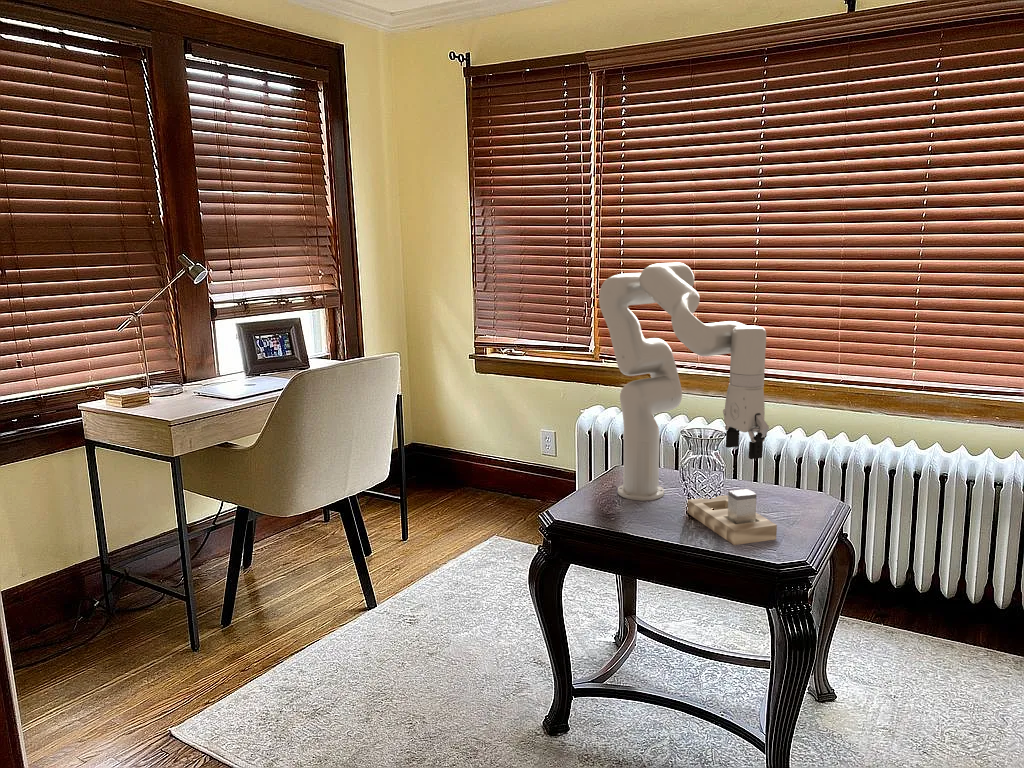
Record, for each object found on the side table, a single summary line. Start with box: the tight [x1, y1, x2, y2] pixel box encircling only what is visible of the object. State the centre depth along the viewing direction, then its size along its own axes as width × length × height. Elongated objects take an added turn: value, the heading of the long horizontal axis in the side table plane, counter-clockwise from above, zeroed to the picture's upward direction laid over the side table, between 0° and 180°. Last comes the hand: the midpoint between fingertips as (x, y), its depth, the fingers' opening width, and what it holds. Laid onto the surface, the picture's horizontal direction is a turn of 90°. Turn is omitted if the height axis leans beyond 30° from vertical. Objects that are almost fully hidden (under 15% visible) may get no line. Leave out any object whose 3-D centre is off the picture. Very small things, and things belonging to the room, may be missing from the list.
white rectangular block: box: [727, 488, 758, 524], centre depth 188 cm, size 4×5×10 cm
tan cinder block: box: [687, 494, 778, 546], centre depth 193 cm, size 22×11×4 cm, turn 16°
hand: (743, 452), depth 185 cm, fingers open, 9 cm apart
